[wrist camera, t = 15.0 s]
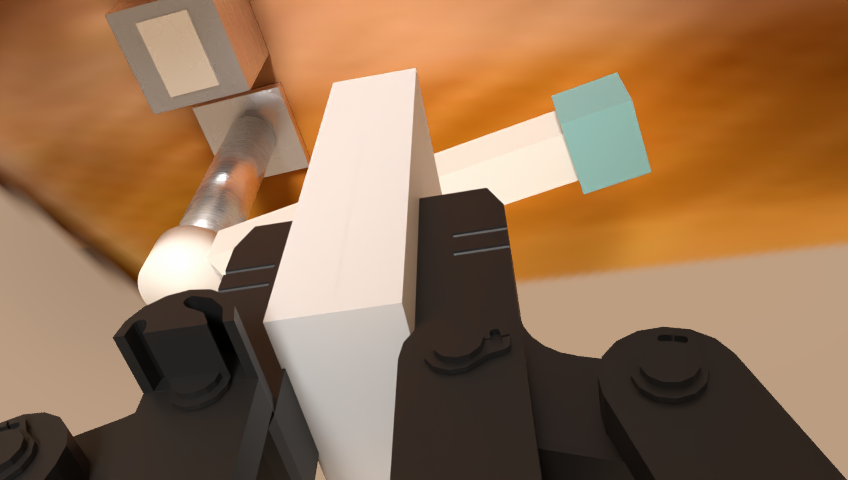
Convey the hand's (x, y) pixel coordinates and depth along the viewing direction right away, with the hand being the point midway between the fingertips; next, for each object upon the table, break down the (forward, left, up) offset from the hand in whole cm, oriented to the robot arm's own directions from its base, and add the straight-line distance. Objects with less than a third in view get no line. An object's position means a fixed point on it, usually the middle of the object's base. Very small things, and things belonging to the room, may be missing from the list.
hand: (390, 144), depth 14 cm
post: (+13, -15, -34) cm, 39 cm away
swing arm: (+12, -5, -19) cm, 23 cm away
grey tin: (+5, -15, -34) cm, 37 cm away
